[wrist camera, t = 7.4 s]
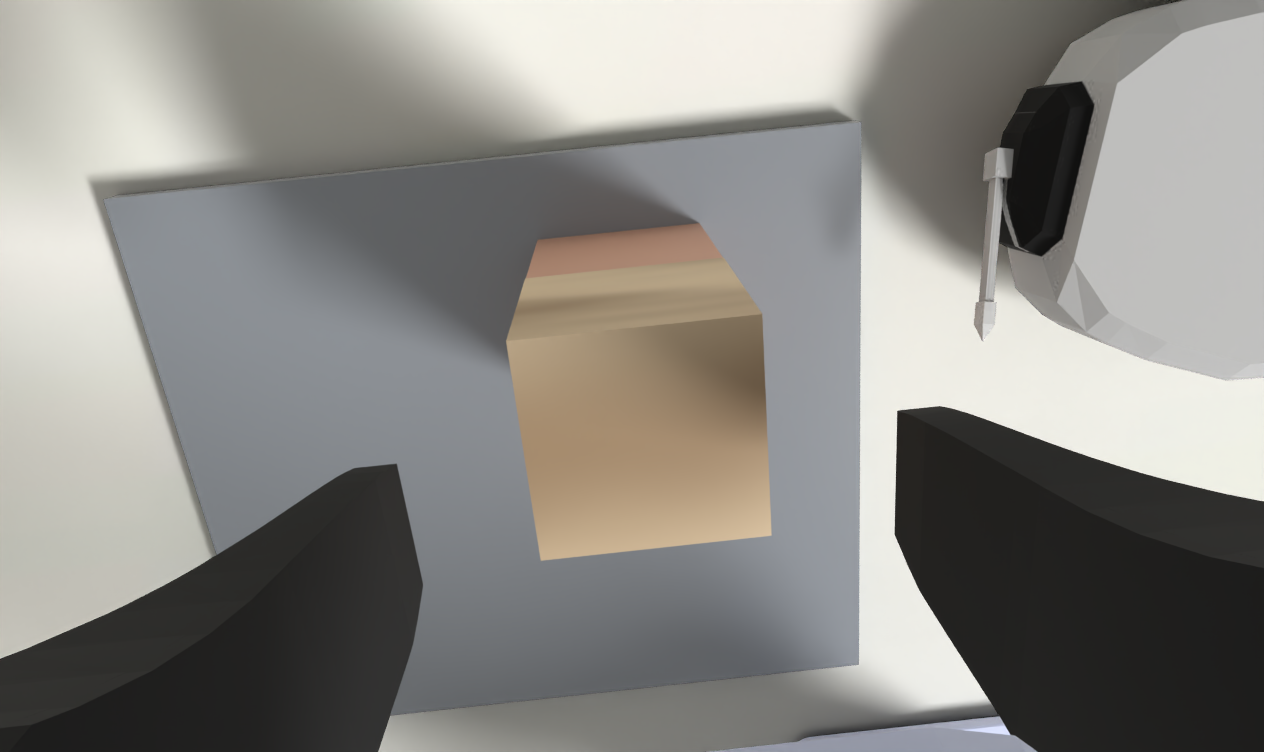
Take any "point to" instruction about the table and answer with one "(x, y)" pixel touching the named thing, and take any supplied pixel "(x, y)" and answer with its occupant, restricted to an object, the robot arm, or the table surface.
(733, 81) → the table surface
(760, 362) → the top brick
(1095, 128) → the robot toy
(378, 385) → the baseplate
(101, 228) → the table surface
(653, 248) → the base brick
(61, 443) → the table surface
